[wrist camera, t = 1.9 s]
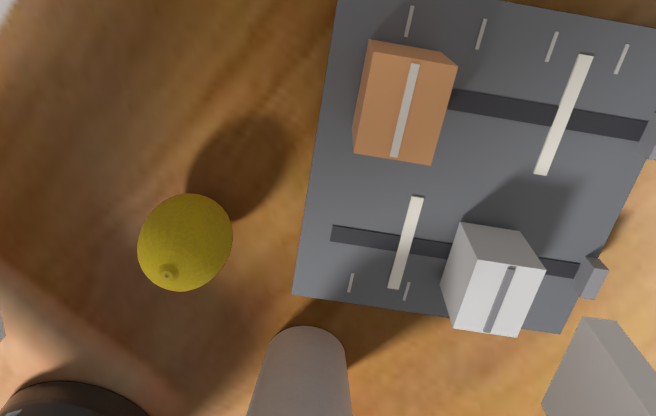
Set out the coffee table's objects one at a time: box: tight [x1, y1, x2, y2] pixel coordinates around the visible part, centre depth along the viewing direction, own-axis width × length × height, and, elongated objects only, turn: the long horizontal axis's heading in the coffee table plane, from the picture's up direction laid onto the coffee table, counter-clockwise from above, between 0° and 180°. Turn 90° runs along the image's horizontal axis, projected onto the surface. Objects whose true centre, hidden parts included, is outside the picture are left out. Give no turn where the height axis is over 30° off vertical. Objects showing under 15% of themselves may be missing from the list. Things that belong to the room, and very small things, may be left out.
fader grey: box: [439, 222, 546, 338], centre depth 30 cm, size 4×5×5 cm
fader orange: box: [352, 39, 458, 166], centre depth 25 cm, size 4×5×5 cm
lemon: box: [137, 193, 233, 292], centre depth 30 cm, size 6×6×8 cm
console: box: [291, 0, 656, 334], centre depth 30 cm, size 20×21×3 cm
